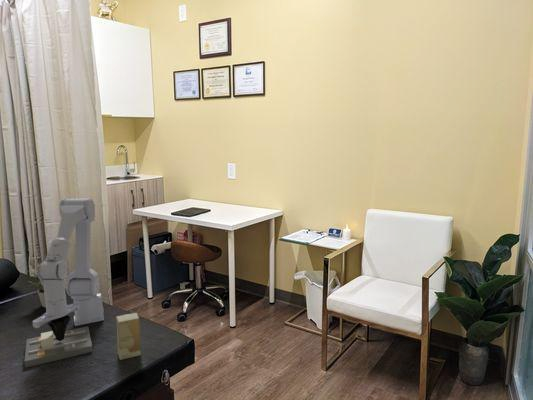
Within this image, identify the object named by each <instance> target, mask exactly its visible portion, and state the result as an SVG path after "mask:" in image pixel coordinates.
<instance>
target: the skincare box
mask: <svg viewBox="0 0 533 400" xmlns="http://www.w3.org/2000/svg"><path fill="white" fill-rule="evenodd" d="M115 319H116V320H115V321H116V323H115V324H116V341H117V356H118V358H119V360H120V361H122V360H127V359H130V358H134V357H138V356H141V354H142V351H141V333H140V331H141V330H140V328H141V327H140V317H139V314H138V312H133V313H126V314H123V315H118V316H116V317H115Z"/></svg>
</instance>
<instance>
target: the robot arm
mask: <svg viewBox="0 0 533 400" xmlns="http://www.w3.org/2000/svg"><path fill="white" fill-rule="evenodd" d="M59 202H60V203H59V205H58V210H59V216H60V218H61V219H60V223H59V226H58V232H57V236H56V238H55V239H52V240H51V242H50V245H49V248H48V252H47V253H46V257H45V260H44V261H43V262H41V263H40V264H38V265H39V266H38V269H37V271H38V272H37V276H38V277H39V279H40V280H41V283H40V284H41V286H44V294H45V303H46V307H45V310H46V312H45V313H43V314H42V315H41V316H38V317H37V318H36V319H34V320H32V321H31V322H32V327H33V328H35V329H39V328H40V327H41V326H43V325H45V324H47V325H48V327H50V329H51V331H53V334H54V335H55V337H56V340H58V341H61V340H63V339H64V336H65V331H67V327H68V325H69V322H70V320H71V316H70V315H69V314H70V313H73V312H74V316H73V322H74V326H75V327H78V326H83V325H88V324H92V323H97V322H101V321H104V320H105V319H104V313H105V312H104V306H103V297H102V293H101V292H100V289H101V282H100V278H99V273H98V272H96V271H95V270H93V269H92V268H91V232H92V231H91V225H92V222H94V221H95V217H96V205H95V202H94V200H93V199H92V198H91V197H87V198H86V197H85V198H62V199H61V201H59ZM74 230H75V231H74ZM73 231H74V232H75V233H74V234H75V236H74V239H75V241H74V242H75V243H74V270H73V271H72V272H70V273H69V274H68V256H69V254H70V251H71V247H72V243H71V242H70V239H71V237H72V234H73ZM67 274H68V276H67ZM66 276H67V281H66V282H67V283H66V282H65V278H66ZM65 284H66V285H65ZM66 293H67V294H66ZM67 295H68V296H70V299H72V300H73V303H70V304H68V303H67V302H68V301H67Z"/></svg>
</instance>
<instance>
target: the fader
mask: <svg viewBox="0 0 533 400" xmlns="http://www.w3.org/2000/svg"><path fill="white" fill-rule="evenodd" d="M53 334H54V333H53V331H52V330H51V331H46V332H41V333H40V336H41V346H42V348H47V347H51V346H54V339H53Z"/></svg>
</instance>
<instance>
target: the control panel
mask: <svg viewBox="0 0 533 400" xmlns="http://www.w3.org/2000/svg"><path fill="white" fill-rule="evenodd" d="M53 339H54V346H51V347H47V348H42V346H41V335H40V336H35V337H31V338H27V339H26V343H25V344H26V345H25V351H24V368H26V369H27V368H30V367H35V366H38V365H43V364H45V363H46V364H47V363H51V362H54V361H59V360H64V359H67V358H73V357H76V356H80V355H85V354H89V353H92V352H93V344H92V340H91V333H90V328H89V326H88V325H87V326H83V327H79V328H73V329H70V330H66V331H65V336H64V339H63V340H61V341H58V340H56V337H55V335H54V333H53Z"/></svg>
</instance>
